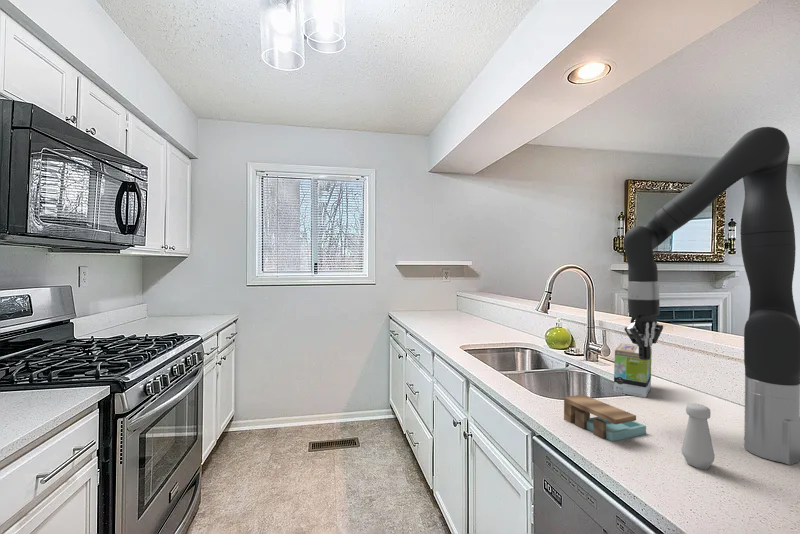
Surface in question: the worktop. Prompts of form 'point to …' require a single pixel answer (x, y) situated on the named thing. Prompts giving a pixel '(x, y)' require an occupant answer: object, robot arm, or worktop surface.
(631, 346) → the tea box
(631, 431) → the tray
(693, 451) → the salt shaker
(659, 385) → the worktop surface
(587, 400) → the shelf
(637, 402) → the worktop surface
